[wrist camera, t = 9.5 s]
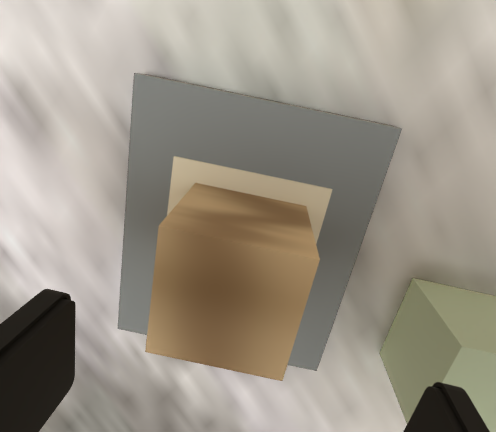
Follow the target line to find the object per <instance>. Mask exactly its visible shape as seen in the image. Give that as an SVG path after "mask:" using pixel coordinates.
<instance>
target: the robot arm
mask: <svg viewBox="0 0 496 432" xmlns="http://www.w3.org/2000/svg"><path fill="white" fill-rule="evenodd" d="M74 376H75V302H74V301H72V300H71V298H70V295H69V294H67V293H63V292H59V291H54V290H50V289H44V290H43V291H41V292H40V293H39V294H37V295H36V296H35V297H34V298H32V299H31V300H30V301H29V302H27V303H26V304H25V305H24V306H22V307H21V308H20V309H19V310H17V311H16V312H15V313H14V314H12V315H11V316H10V317H9V318H7V319H6V320H5V321H4V322H2V323H1V324H0V432H39V431H40V429H41V428H42V427H43V425H44V424H45V423H46V421H47V420H48V418H49V417H50V416H51V414H52V413H53V412H54V410H55V409H56V408H57V406H58V405H59V404H60V402H61V401H62V400H63V398H64V397H65V395H66V394H67V393H68V391H69V390H70V388H71V386H72V384H73V381H74ZM404 432H490V431H489V429H488V428H487V426H486V424H485V423H484V421H483V419H482V418H481V416H480V414H479V413H478V411H477V409H476V408H475V406H474V404H473V402H472V401H471V399H470V397H469V396H468V394H467V393H466V391H465V390H464V389H463V388H461V387H458V386H453V385H449V384H445V383H441V382H436V383H434V384H433V386H428V387H427V388H426V389H425V391H424V393H423V395H422V397H421V399H420V401H419V403H418V404H417V406H416V408H415V410H414V412H413V414H412V416H411V418H410V420H409V422H408V424H407V426H406V428H405V430H404Z"/></svg>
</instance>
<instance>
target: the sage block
mask: <svg viewBox="0 0 496 432" xmlns="http://www.w3.org/2000/svg"><path fill="white" fill-rule="evenodd" d="M380 356H381V358H382V361H383V363H384V366H385V368H386V371H387V374H388V376H389V379H390V381H391V384H392V386H393V389H394V392H395V394H396V397H397V399H398V402H399V404H400V407H401V410H402V412H403V415H404V417H405V420H406V422H407V424H408V422H409V420H410V418H411V416H412V414H413V412H414V410H415V408H416V406H417V404H418V403H419V401H420V399H421V397H422V395H423V393H424V391H425V389H426V388H427V387H428V386H433V384H434V383H436V382H441V383H445V384H449V385H453V386H458V387H461V388H463V389H464V390H465V391H466V393H467V394H468V396H469V397H470V399H471V401H472V402H473V404H474V406H475V408H476V409H477V411H478V413H479V414H480V416H481V418H482V419H483V421H484V423H485V424H486V426H487V428H488V429H489V431H490V432H496V296H493V295H489V294H484V293H480V292H475V291H470V290H466V289H461V288H457V287H452V286H447V285H443V284H438V283H434V282H429V281H424V280H420V279H415V278H412V281H411V283H410V285H409V287H408V290H407V292H406V294H405V296H404V299H403V301H402V303H401V305H400V308H399V310H398V312H397V314H396V317H395V319H394V321H393V323H392V326H391V328H390V330H389V333H388V335H387V337H386V339H385V342H384V344H383V346H382V348H381V351H380Z"/></svg>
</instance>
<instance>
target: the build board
mask: <svg viewBox="0 0 496 432" xmlns="http://www.w3.org/2000/svg"><path fill="white" fill-rule="evenodd" d="M401 130H402V129H401V128H398V127H395V126H392V125H387V124H382V123H377V122H372V121H368V120H363V119H358V118H353V117H348V116H344V115H339V114H334V113H329V112H324V111H320V110H315V109H310V108H305V107H300V106H296V105H291V104H286V103H281V102H276V101H272V100H267V99H262V98H257V97H252V96H248V95H243V94H238V93H233V92H228V91H224V90H219V89H214V88H209V87H204V86H200V85H195V84H190V83H185V82H180V81H176V80H171V79H166V78H161V77H156V76H152V75H147V74H139V73H134V82H133V98H132V113H131V129H130V144H129V160H128V176H127V191H126V207H125V223H124V238H123V254H122V269H121V285H120V301H119V316H118V329H121V330H126V331H131V332H136V333H140V334H145V335H147V331H148V322H149V313H150V303H151V294H152V284H153V275H154V266H155V256H156V247H157V237H158V228H159V225H160V224H161V222H162V221H163V220H164V219H165V218H166V217H167V215H168V214H169V213H170V212H171V211H172V210H173V208H174V207H175V206H176V205H177V204H178V203H179V201H180V200H181V199H182V198H183V197H184V196H185V194H186V193H187V192H188V191H189V190H190V189H191V187H192V186H193V185H194V184H195V183H199V184H204V185H209V186H214V187H218V188H223V189H228V190H233V191H237V192H242V193H247V194H252V195H256V196H261V197H266V198H271V199H275V200H280V201H285V202H289V203H294V204H299V205H304V206H306V207H307V211H308V215H309V219H310V223H311V227H312V231H313V234H314V238H315V242H316V246H317V250H318V254H319V258H320V261H319V264H318V267H317V271H316V274H315V277H314V280H313V284H312V287H311V290H310V293H309V296H308V300H307V303H306V306H305V309H304V313H303V316H302V319H301V322H300V325H299V329H298V332H297V335H296V338H295V342H294V345H293V348H292V351H291V355H290V358H289V361H288V364H287V365H291V366H296V367H300V368H305V369H310V370H315V371H317V368H318V366H319V363H320V360H321V357H322V354H323V351H324V349H325V346H326V343H327V340H328V337H329V334H330V332H331V329H332V326H333V323H334V320H335V317H336V315H337V312H338V309H339V306H340V303H341V300H342V298H343V295H344V292H345V289H346V286H347V283H348V281H349V278H350V275H351V272H352V269H353V266H354V264H355V261H356V258H357V255H358V252H359V249H360V246H361V244H362V241H363V238H364V235H365V232H366V229H367V227H368V224H369V221H370V218H371V215H372V212H373V210H374V207H375V204H376V201H377V198H378V195H379V193H380V190H381V187H382V184H383V181H384V178H385V176H386V173H387V170H388V167H389V164H390V161H391V159H392V156H393V153H394V150H395V147H396V144H397V142H398V139H399V136H400V133H401Z"/></svg>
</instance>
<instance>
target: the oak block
mask: <svg viewBox="0 0 496 432" xmlns="http://www.w3.org/2000/svg"><path fill="white" fill-rule="evenodd" d="M319 261H320V258H319V254H318V250H317V246H316V242H315V238H314V234H313V231H312V227H311V223H310V219H309V215H308V211H307V207H306V206H304V205H299V204H294V203H289V202H285V201H280V200H275V199H271V198H266V197H261V196H256V195H252V194H247V193H242V192H237V191H233V190H228V189H223V188H218V187H214V186H209V185H204V184H199V183H195V184H194V185H193V186H192V187H191V189H190V190H189V191H188V192H187V193H186V194H185V196H184V197H183V198H182V199H181V200H180V201H179V203H178V204H177V205H176V206H175V207H174V208H173V210H172V211H171V212H170V213H169V214H168V215H167V217H166V218H165V219H164V220H163V221H162V222H161V224H160V225H159V228H158V237H157V247H156V256H155V266H154V275H153V284H152V294H151V303H150V313H149V322H148V331H147V341H146V350H145V352H148V353H153V354H158V355H163V356H167V357H172V358H177V359H181V360H186V361H191V362H195V363H200V364H205V365H209V366H214V367H219V368H223V369H228V370H233V371H237V372H242V373H247V374H252V375H256V376H261V377H266V378H270V379H275V380H280V381H282V380H283V377H284V374H285V371H286V367H287V364H288V361H289V358H290V355H291V351H292V348H293V345H294V342H295V338H296V335H297V332H298V329H299V325H300V322H301V319H302V316H303V313H304V309H305V306H306V303H307V300H308V296H309V293H310V290H311V287H312V284H313V280H314V277H315V274H316V271H317V267H318V264H319Z"/></svg>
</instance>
